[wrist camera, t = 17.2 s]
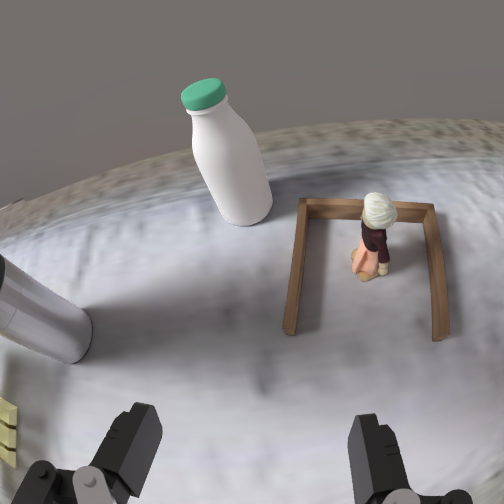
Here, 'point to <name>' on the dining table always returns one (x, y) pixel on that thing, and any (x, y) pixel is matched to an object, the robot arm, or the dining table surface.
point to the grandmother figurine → (374, 237)
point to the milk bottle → (227, 154)
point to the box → (353, 212)
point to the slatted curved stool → (8, 432)
